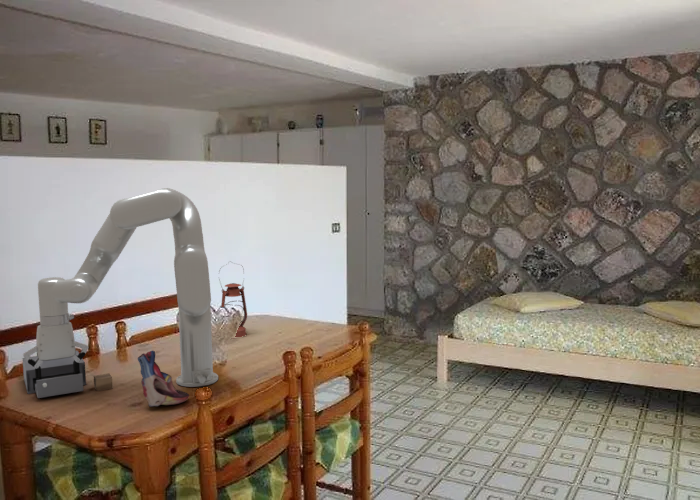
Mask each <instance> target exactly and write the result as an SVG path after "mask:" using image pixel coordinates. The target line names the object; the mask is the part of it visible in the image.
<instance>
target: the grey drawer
mask: <svg viewBox="0 0 700 500" xmlns="http://www.w3.org/2000/svg"><path fill="white" fill-rule="evenodd" d="M33 384H34V387H35V391H36V393H35V394H36V397H37V399H40V398H41V399H42V398H48V397H54V396H59V395H60V396H61V395H65V394H71V393H77V392H83V391H84V385H83V377H82V373H81V374H74V373H67V374H60V375H53V376H47V377H42V379H41V380H38V378H37V379H36V378H33Z"/></svg>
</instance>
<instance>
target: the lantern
mask: <svg viewBox="0 0 700 500" xmlns="http://www.w3.org/2000/svg"><path fill="white" fill-rule="evenodd" d="M229 263H232V261H231V260H229V261H228V263H226V264H224V265H222V266H220V268H219V271H218V272H219V273H220V271H221V269H222V268H223V267H225V266H227V265H228V264H229ZM233 264H234V265H236V263H235V262H233ZM237 265H240V266H242V267H241V268H242V270H243V273H245V269H244V267H243V265H242V264H240V263H237ZM220 279H221V278H218V280H219V284H220V286H221V287H220V288H222V289H221V294H222V296H221V306H220V308H221V307H226V305H227V306H232V304H231V303H233V302H234V303H235V302H236V300H231V301H228V302H226V297H228V298H230V297H231V298H235V297H240V296H241V300H239V302H241V303H242V305H241V304H236V306H237V307H241V309H242V311H241V313H243V314H241V316H240V318H242V320H240V321H241V322H240V323H239V325H240V326H239V328H238V330H237V333H236V336H235V337H242V336H245V335H246V334H247V331H246V330H247V328H246V327H245V326H244V325H245V323H246V322H247V319H248V310H247V303H246V297H245V296H246V295H245V287H244V284H240V283H235V282H233V283H232V282H231V283H228V284H225V285H224V287H226V290H225V289H223V286H222V283H221V280H220ZM244 281H245V279H243V281H242V283H244ZM240 287H241V288H240ZM242 316H243V317H242ZM246 336H247V335H246ZM246 336H245V337H246ZM242 338H243V337H242Z"/></svg>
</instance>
